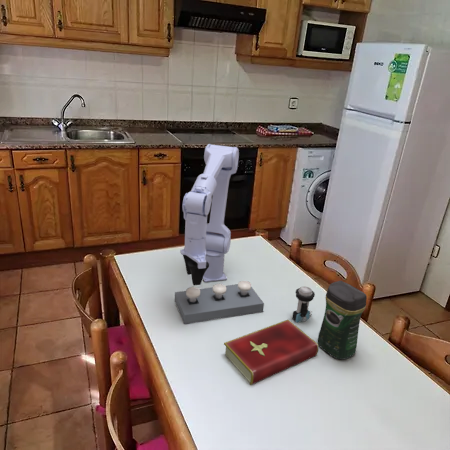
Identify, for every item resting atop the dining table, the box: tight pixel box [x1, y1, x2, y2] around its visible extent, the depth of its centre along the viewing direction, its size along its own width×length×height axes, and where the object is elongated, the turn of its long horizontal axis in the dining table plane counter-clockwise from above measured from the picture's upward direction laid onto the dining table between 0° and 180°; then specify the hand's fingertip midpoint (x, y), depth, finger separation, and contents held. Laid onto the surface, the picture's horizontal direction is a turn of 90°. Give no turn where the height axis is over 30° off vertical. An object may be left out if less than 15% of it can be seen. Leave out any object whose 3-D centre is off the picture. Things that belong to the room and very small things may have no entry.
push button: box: [291, 286, 316, 324], centre depth 117 cm, size 7×5×10 cm
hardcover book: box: [223, 319, 319, 386], centre depth 102 cm, size 12×21×4 cm, turn 123°
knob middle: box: [212, 283, 227, 299], centre depth 120 cm, size 4×4×3 cm
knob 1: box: [185, 286, 201, 302], centre depth 117 cm, size 4×4×3 cm
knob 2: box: [237, 280, 252, 295], centre depth 122 cm, size 4×4×3 cm
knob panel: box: [174, 283, 265, 325], centre depth 121 cm, size 12×24×3 cm, turn 110°
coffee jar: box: [317, 280, 368, 360], centre depth 104 cm, size 10×8×19 cm
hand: (193, 279), depth 115 cm, fingers open, 5 cm apart
